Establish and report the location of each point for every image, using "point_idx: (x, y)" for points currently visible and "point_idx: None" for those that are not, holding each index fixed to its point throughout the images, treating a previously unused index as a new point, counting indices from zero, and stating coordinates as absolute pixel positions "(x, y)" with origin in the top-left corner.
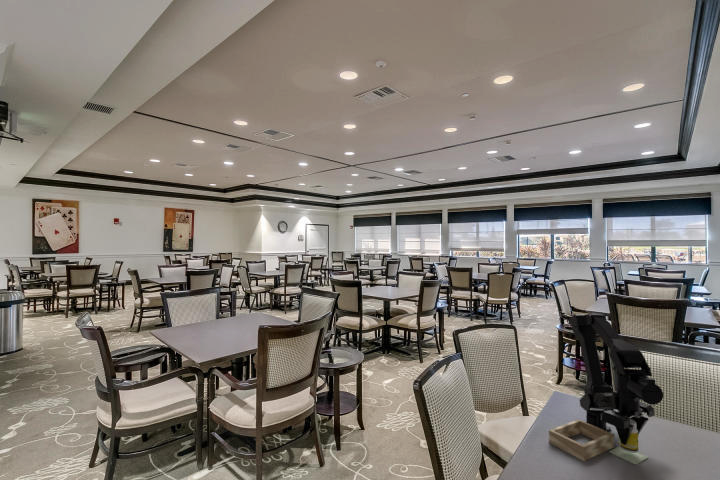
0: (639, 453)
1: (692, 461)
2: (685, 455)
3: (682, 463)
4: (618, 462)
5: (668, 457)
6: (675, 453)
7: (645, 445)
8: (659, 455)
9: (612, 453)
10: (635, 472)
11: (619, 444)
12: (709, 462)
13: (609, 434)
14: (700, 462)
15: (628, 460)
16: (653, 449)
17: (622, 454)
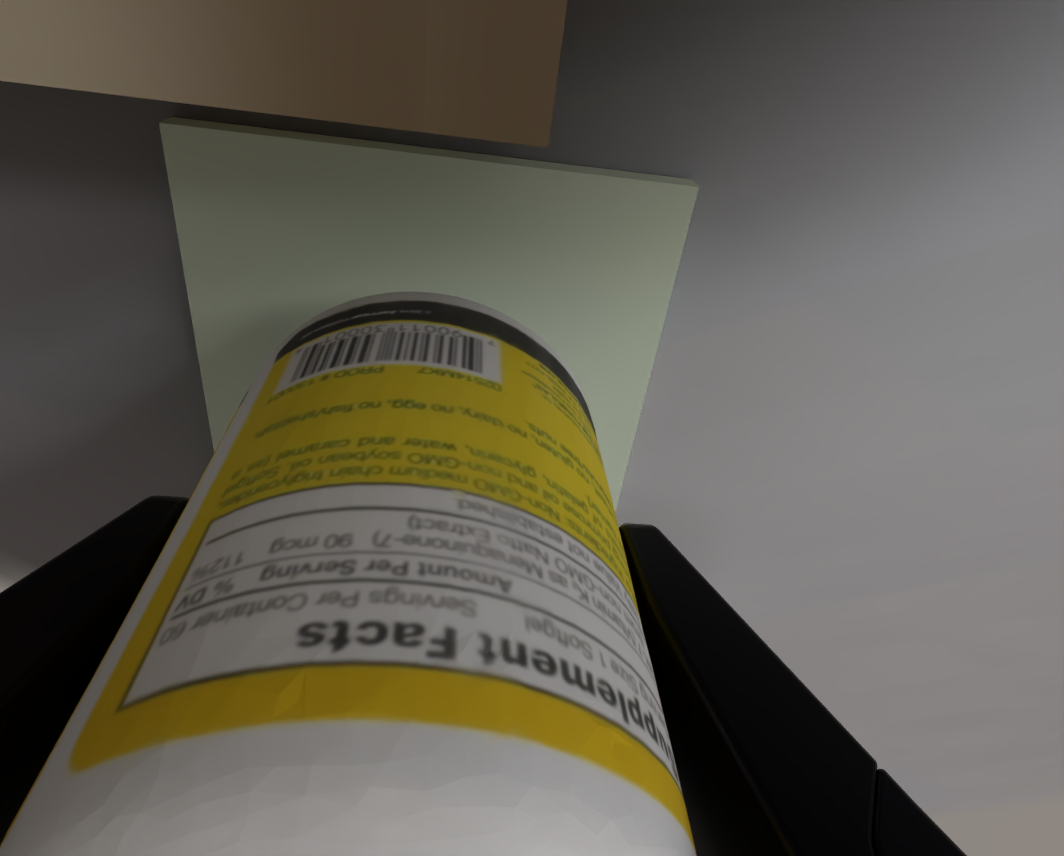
0: (617, 468)
1: (913, 742)
2: (1028, 692)
3: None
4: (4, 364)
5: (839, 635)
6: (1017, 642)
7: (1055, 403)
8: (819, 579)
9: (181, 183)
10: (26, 573)
11: (265, 368)
12: (995, 792)
13: (370, 48)
14: (941, 769)
15: (217, 446)
16: (971, 499)
17: None
